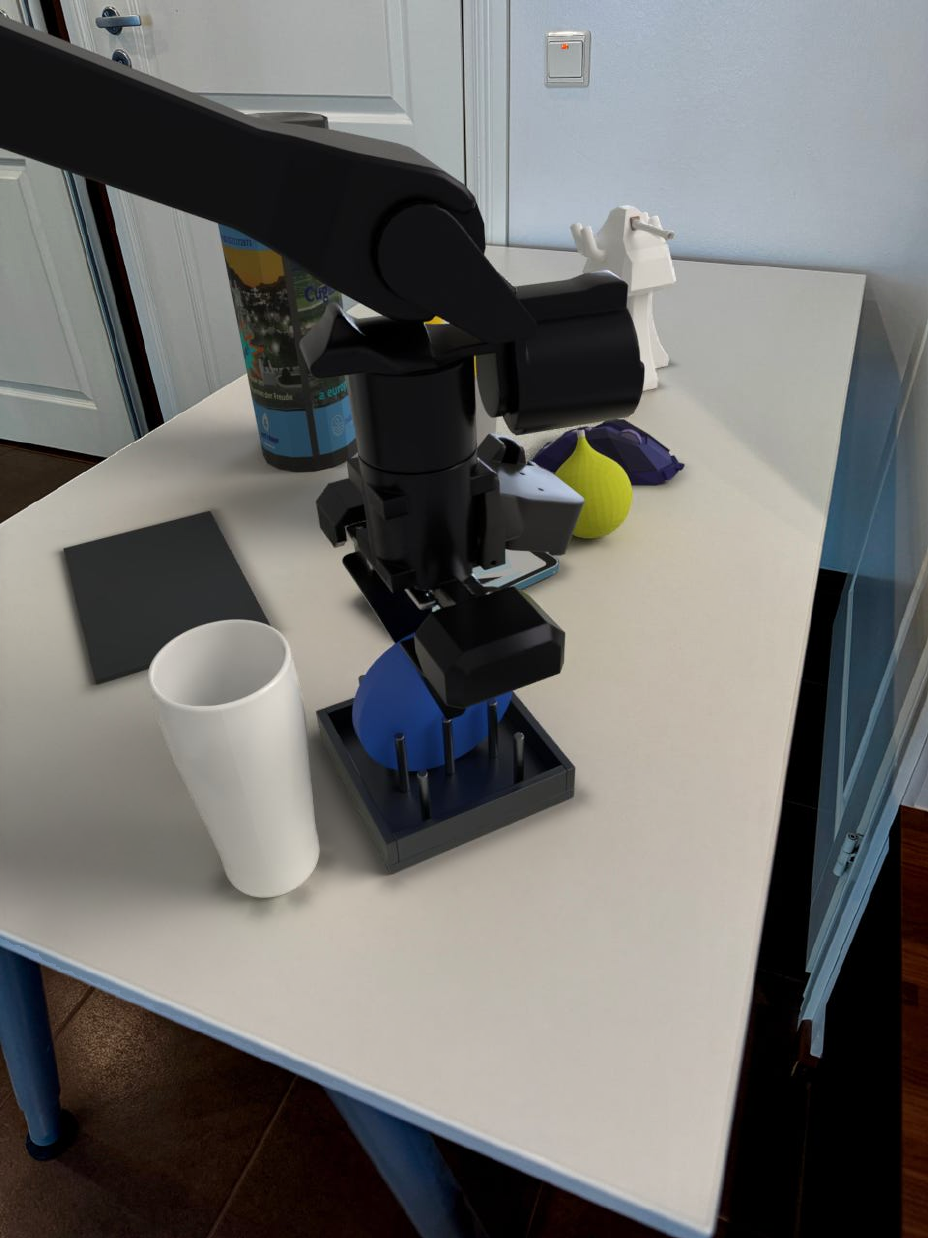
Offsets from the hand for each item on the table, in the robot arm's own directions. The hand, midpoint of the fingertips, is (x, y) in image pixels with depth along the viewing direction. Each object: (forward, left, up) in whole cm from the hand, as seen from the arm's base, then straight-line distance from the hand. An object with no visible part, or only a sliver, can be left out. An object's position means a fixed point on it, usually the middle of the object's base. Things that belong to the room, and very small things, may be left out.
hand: (436, 690), depth 51 cm
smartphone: (+10, +17, -7) cm, 21 cm away
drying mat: (-12, +29, -6) cm, 32 cm away
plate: (0, 0, -6) cm, 6 cm away
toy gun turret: (+46, +47, -7) cm, 66 cm away
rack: (0, 0, -6) cm, 6 cm away
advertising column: (+7, +47, -7) cm, 48 cm away
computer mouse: (+32, +29, -7) cm, 44 cm away
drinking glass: (-11, -2, -7) cm, 13 cm away
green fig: (+23, +19, -7) cm, 31 cm away
